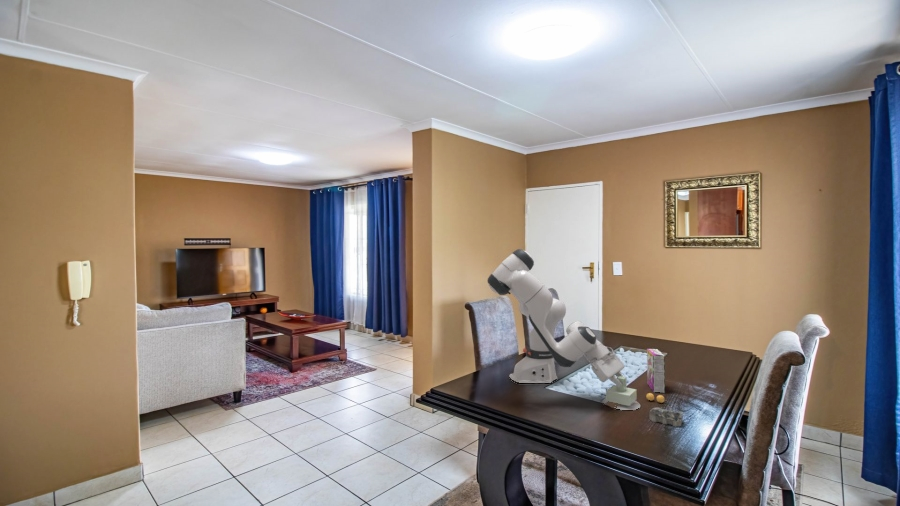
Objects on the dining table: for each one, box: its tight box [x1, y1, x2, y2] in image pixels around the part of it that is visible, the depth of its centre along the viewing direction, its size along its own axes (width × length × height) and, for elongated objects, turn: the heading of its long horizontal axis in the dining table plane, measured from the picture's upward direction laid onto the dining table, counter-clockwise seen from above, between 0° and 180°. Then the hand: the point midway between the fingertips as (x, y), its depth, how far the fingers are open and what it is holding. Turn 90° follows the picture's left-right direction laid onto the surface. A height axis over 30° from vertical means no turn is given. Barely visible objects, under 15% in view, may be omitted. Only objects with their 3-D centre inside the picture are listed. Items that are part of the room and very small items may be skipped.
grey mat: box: [602, 397, 641, 411], centre depth 173 cm, size 14×14×1 cm
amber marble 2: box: [656, 394, 666, 404], centre depth 174 cm, size 3×3×3 cm
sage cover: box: [605, 376, 638, 406], centre depth 173 cm, size 9×9×9 cm
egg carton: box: [648, 406, 684, 427], centre depth 156 cm, size 11×8×4 cm
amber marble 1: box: [646, 392, 655, 402], centre depth 177 cm, size 3×3×3 cm
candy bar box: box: [646, 348, 666, 394], centre depth 191 cm, size 11×5×16 cm, turn 168°
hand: (622, 384), depth 173 cm, fingers closed on sage cover, 3 cm apart
